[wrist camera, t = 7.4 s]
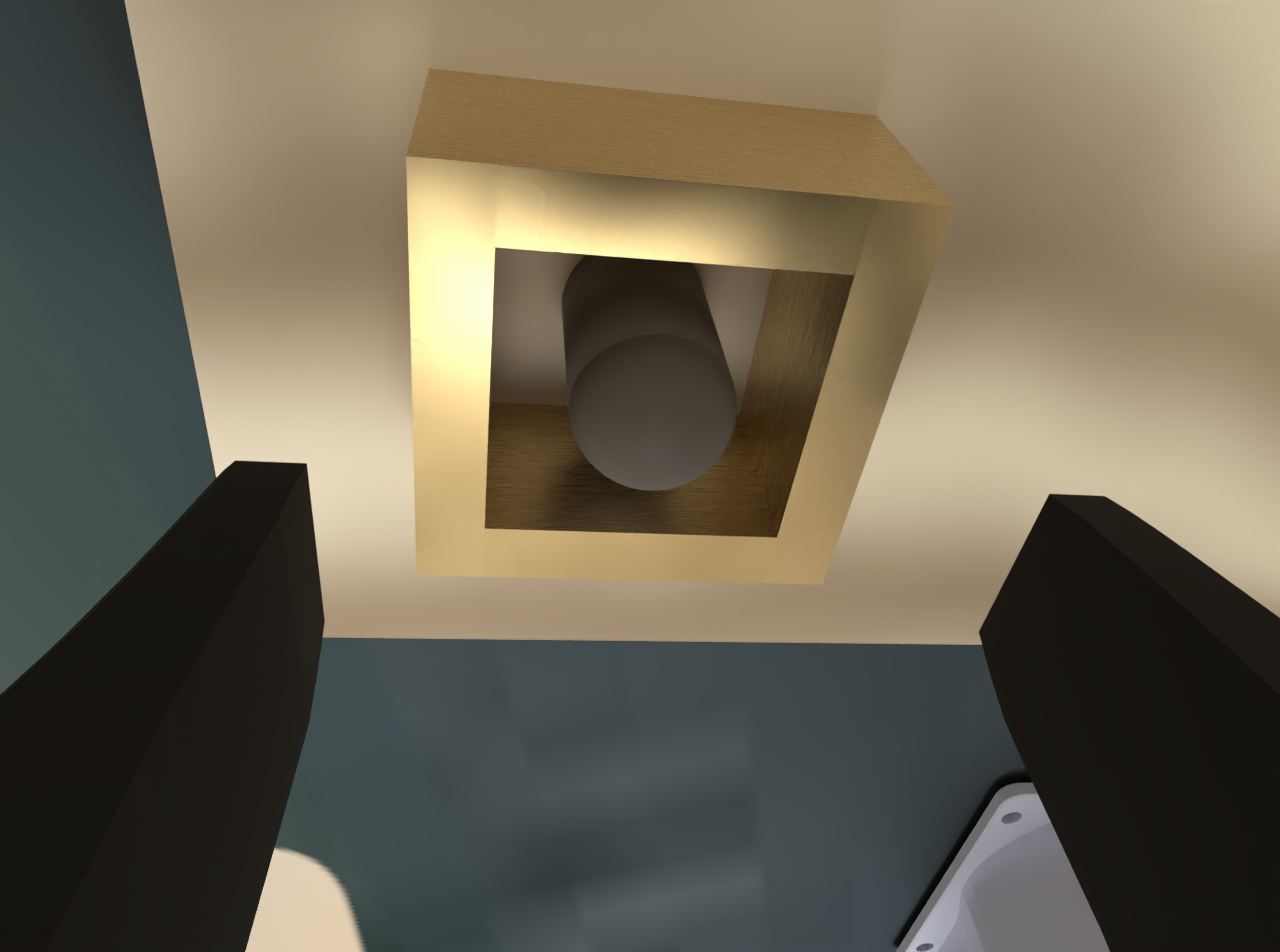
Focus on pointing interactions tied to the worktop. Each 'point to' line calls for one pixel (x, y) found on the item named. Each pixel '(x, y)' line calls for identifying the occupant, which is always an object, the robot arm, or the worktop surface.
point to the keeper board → (754, 288)
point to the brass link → (672, 231)
